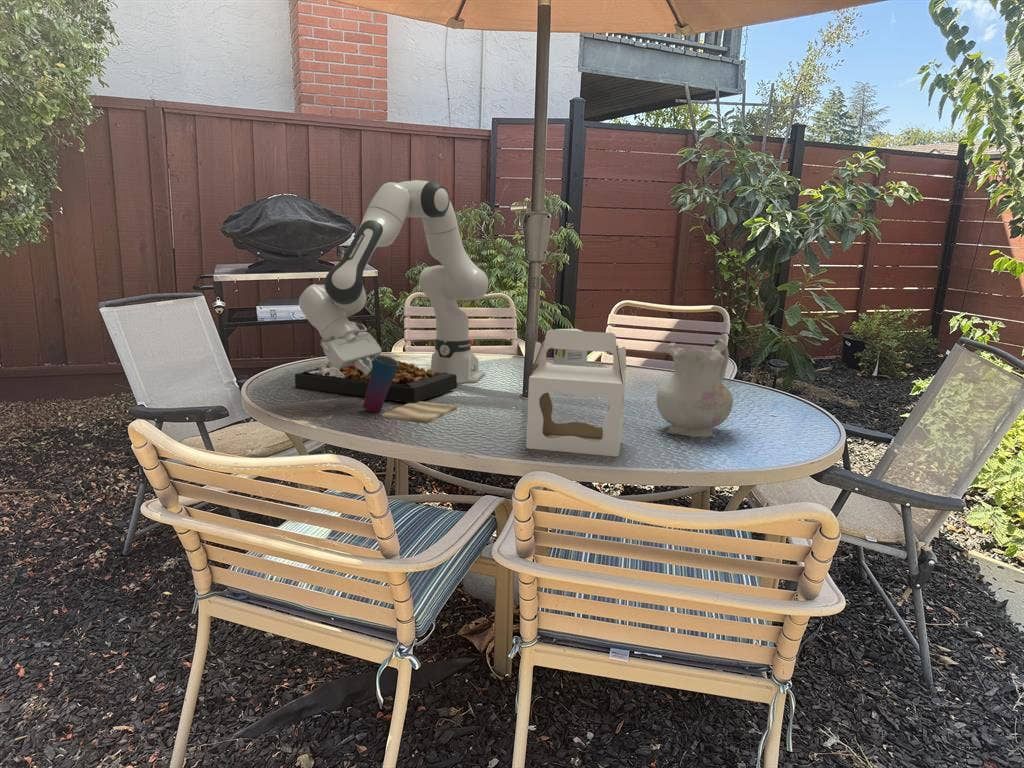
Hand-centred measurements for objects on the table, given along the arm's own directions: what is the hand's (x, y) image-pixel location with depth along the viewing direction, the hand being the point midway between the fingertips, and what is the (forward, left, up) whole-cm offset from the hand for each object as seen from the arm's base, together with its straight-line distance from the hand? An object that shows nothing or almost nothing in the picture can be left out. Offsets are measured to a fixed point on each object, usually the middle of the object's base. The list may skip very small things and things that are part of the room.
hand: (371, 373), depth 193 cm
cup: (0, 0, -10) cm, 10 cm away
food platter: (-25, -14, -11) cm, 30 cm away
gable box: (+5, +61, -11) cm, 62 cm away
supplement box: (-80, +34, -11) cm, 88 cm away
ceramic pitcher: (-22, +86, -11) cm, 89 cm away
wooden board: (-5, +13, -11) cm, 18 cm away
